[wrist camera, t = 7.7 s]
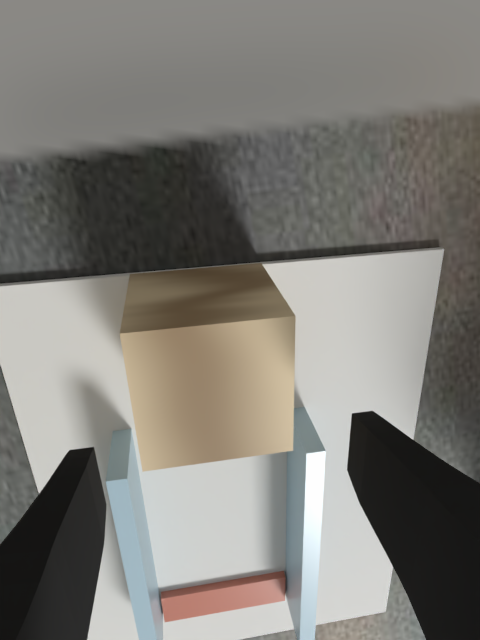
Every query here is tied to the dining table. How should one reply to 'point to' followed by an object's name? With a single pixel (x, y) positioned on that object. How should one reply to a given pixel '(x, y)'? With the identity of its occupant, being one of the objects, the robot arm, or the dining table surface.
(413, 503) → the robot arm
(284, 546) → the white mat
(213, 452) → the maple block
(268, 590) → the trough
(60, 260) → the dining table surface
